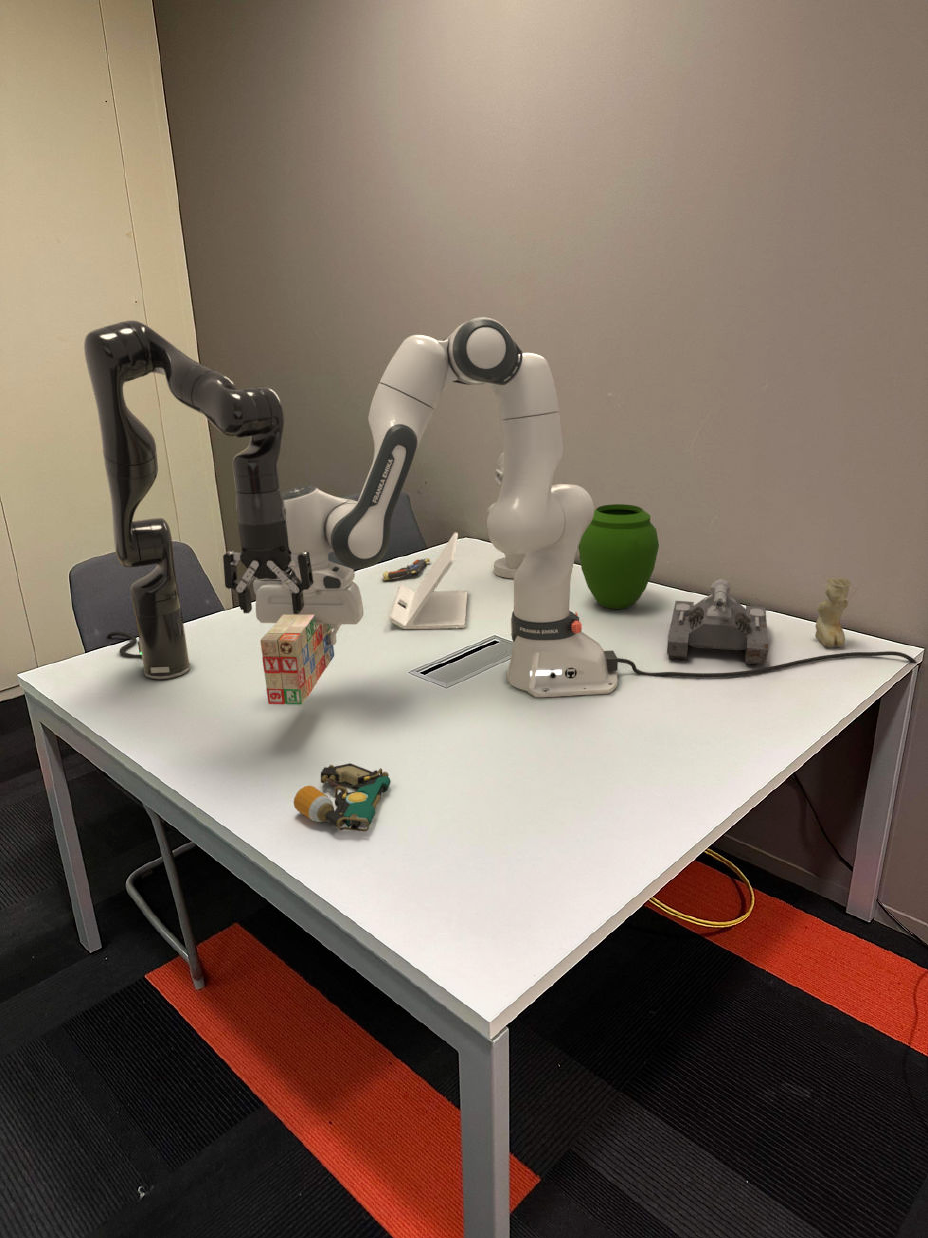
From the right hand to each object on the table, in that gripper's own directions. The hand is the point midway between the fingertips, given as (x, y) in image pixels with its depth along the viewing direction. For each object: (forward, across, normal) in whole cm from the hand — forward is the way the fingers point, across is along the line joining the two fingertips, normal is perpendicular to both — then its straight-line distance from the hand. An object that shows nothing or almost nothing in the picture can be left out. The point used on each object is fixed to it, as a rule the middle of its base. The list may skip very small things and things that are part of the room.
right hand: (312, 643), depth 163 cm
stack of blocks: (+4, 0, -7) cm, 8 cm away
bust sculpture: (+12, +36, +82) cm, 90 cm away
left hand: (-13, 0, -18) cm, 22 cm away
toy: (+13, +81, +34) cm, 89 cm away
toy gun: (+12, +2, +84) cm, 85 cm away
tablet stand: (+12, +14, +52) cm, 55 cm away
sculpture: (+13, +105, +36) cm, 111 cm away
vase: (+13, +60, +59) cm, 85 cm away
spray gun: (+12, +15, -35) cm, 40 cm away
